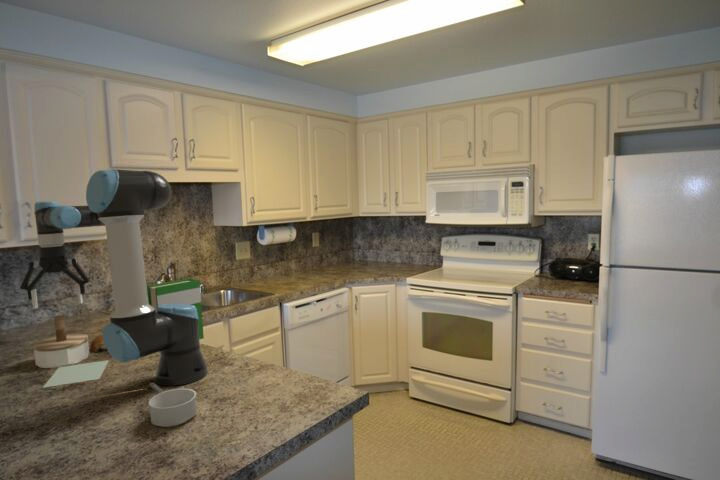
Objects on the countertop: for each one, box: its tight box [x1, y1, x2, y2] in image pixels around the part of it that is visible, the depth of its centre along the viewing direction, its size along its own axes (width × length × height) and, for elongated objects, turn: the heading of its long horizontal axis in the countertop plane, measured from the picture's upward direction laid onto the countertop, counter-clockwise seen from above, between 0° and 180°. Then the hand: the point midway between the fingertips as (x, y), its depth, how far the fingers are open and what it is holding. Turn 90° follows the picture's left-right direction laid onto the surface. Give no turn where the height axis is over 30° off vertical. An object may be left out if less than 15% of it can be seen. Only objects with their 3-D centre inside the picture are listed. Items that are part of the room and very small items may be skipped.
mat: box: [42, 359, 109, 388], centre depth 145 cm, size 18×15×1 cm
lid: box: [33, 314, 89, 352], centre depth 157 cm, size 16×16×10 cm
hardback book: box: [146, 278, 204, 340], centre depth 175 cm, size 18×7×24 cm, turn 141°
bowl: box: [33, 340, 90, 369], centre depth 158 cm, size 15×15×6 cm
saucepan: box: [147, 382, 197, 428], centre depth 116 cm, size 12×20×6 cm, turn 45°
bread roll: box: [89, 333, 108, 353], centre depth 171 cm, size 10×10×8 cm
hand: (58, 305), depth 156 cm, fingers open, 13 cm apart
